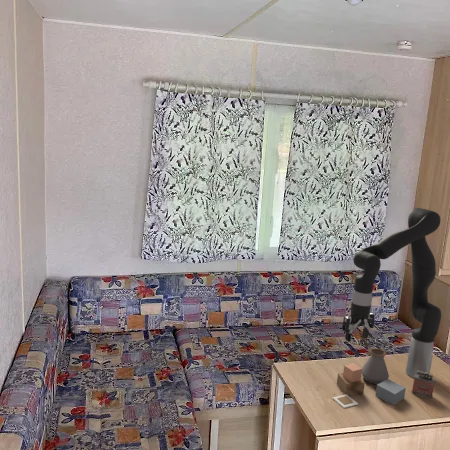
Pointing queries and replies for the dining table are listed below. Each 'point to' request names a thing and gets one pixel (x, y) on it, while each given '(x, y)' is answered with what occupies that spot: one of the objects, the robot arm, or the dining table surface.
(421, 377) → the lighter
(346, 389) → the walnut block
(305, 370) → the dining table surface
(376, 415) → the dining table surface
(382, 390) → the slate block
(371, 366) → the coffee pot
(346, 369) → the terracotta cube
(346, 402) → the white square frame
